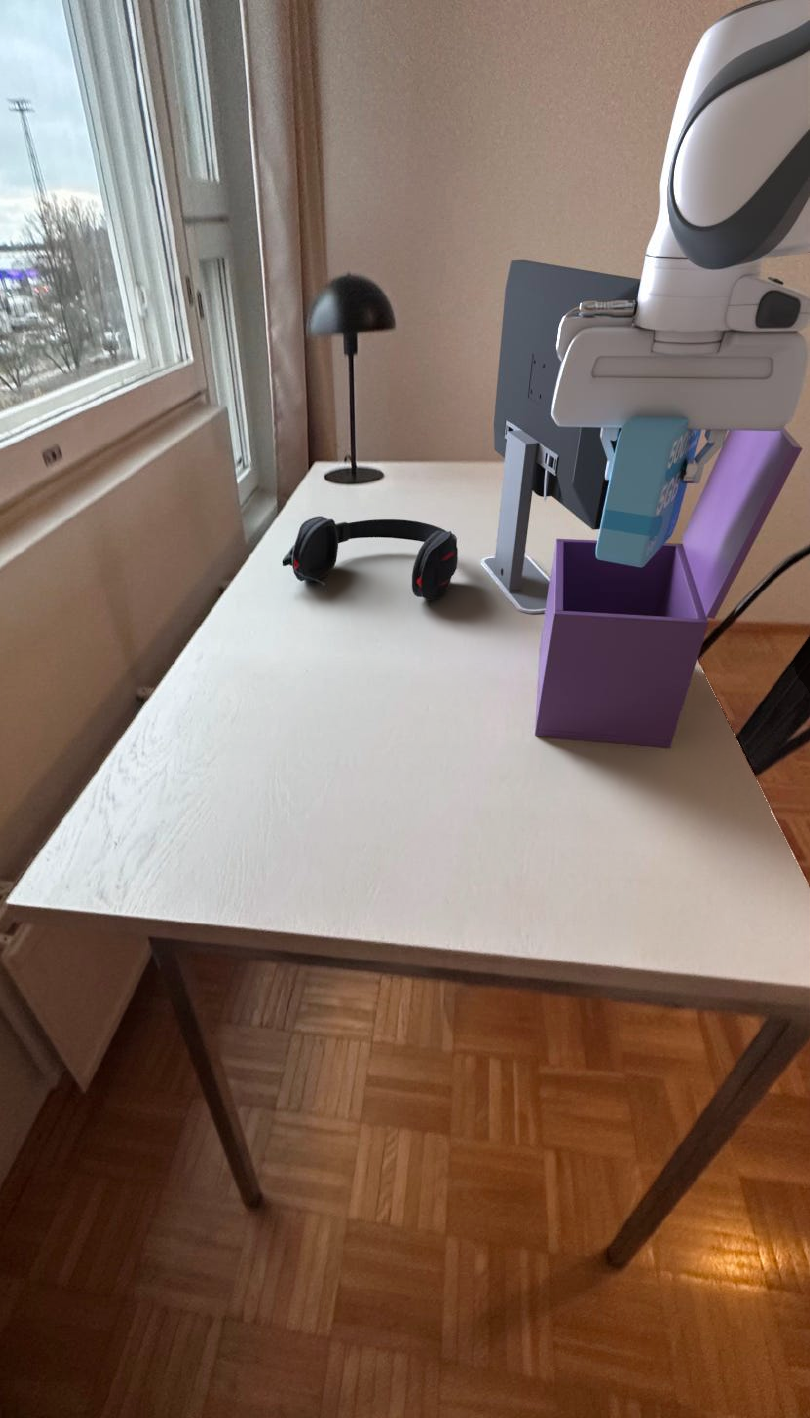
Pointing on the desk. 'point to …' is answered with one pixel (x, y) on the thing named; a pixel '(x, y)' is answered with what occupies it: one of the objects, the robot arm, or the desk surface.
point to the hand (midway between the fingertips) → (651, 480)
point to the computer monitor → (543, 419)
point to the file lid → (735, 508)
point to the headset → (323, 535)
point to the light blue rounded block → (645, 488)
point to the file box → (617, 646)
